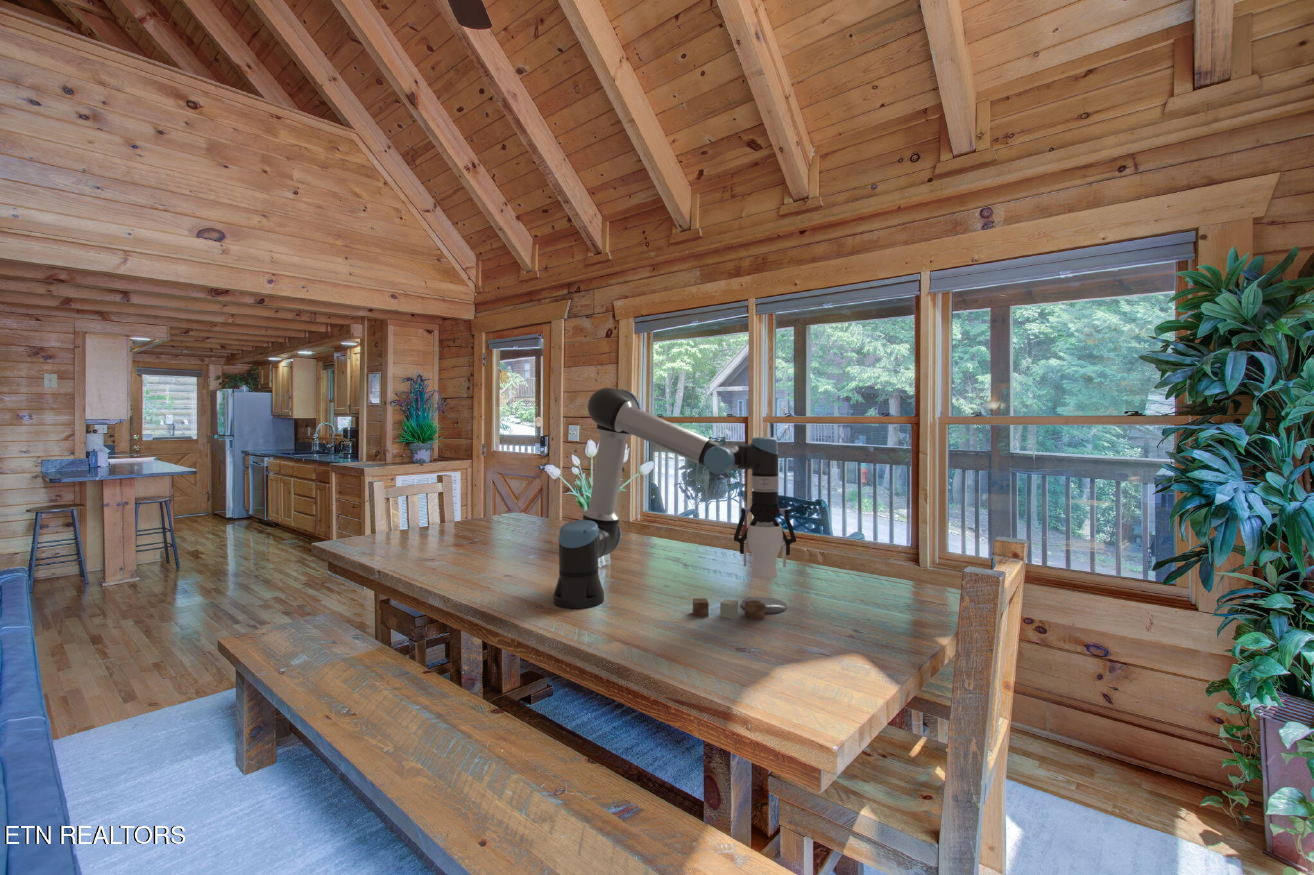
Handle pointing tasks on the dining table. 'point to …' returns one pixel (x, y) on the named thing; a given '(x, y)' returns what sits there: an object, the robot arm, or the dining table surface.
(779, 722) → the dining table surface
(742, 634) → the dining table surface
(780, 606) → the coaster
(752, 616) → the block
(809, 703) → the dining table surface
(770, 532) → the cup
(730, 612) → the block
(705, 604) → the block
